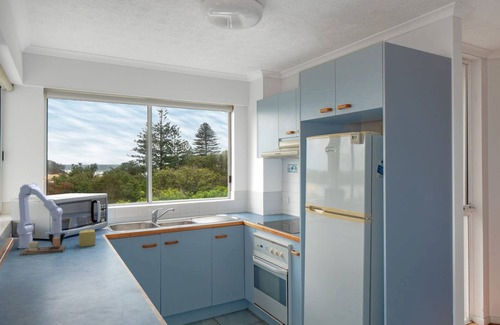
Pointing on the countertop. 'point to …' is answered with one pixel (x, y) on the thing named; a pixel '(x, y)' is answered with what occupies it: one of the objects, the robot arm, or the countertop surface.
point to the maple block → (33, 246)
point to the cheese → (87, 237)
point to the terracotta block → (56, 241)
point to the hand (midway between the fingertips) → (57, 245)
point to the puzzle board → (44, 250)
